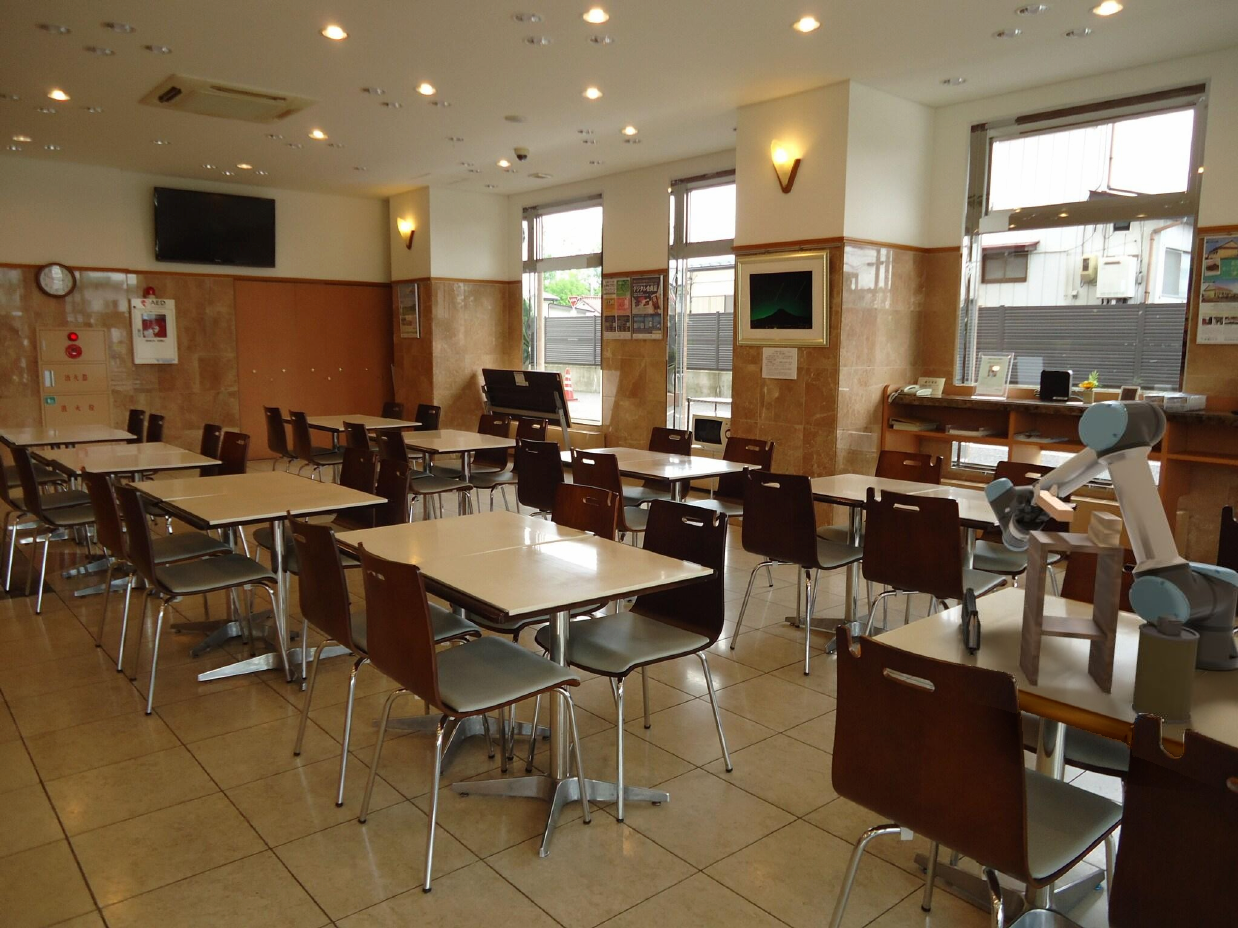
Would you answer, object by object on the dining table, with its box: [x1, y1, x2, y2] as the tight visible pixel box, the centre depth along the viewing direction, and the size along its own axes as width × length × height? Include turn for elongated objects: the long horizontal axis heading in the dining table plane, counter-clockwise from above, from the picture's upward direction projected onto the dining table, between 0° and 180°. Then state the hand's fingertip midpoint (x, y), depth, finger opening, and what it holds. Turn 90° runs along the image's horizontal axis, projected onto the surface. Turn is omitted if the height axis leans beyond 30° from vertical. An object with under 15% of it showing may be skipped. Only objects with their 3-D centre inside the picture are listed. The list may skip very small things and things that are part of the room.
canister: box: [1131, 616, 1200, 724], centre depth 178 cm, size 11×10×20 cm
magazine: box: [960, 587, 982, 656], centre depth 223 cm, size 17×3×30 cm
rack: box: [1018, 510, 1125, 695], centre depth 195 cm, size 16×14×38 cm
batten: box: [1036, 490, 1075, 523], centre depth 205 cm, size 28×3×2 cm, turn 165°
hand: (1047, 489), depth 211 cm, fingers closed on batten, 3 cm apart
